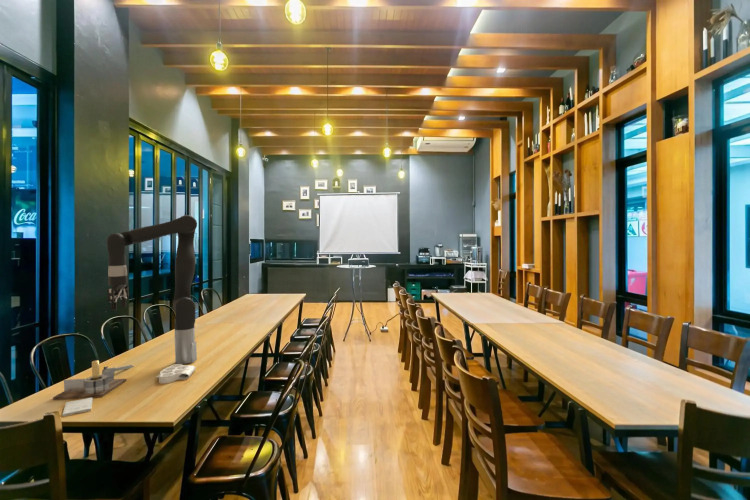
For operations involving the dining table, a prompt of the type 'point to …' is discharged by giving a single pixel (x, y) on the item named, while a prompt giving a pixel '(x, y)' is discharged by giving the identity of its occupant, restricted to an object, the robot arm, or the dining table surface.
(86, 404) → the external hard drive
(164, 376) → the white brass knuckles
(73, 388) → the hinge
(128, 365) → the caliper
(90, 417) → the dining table surface
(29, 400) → the dining table surface
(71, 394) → the hinge board
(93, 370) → the hinge pin
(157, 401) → the dining table surface
